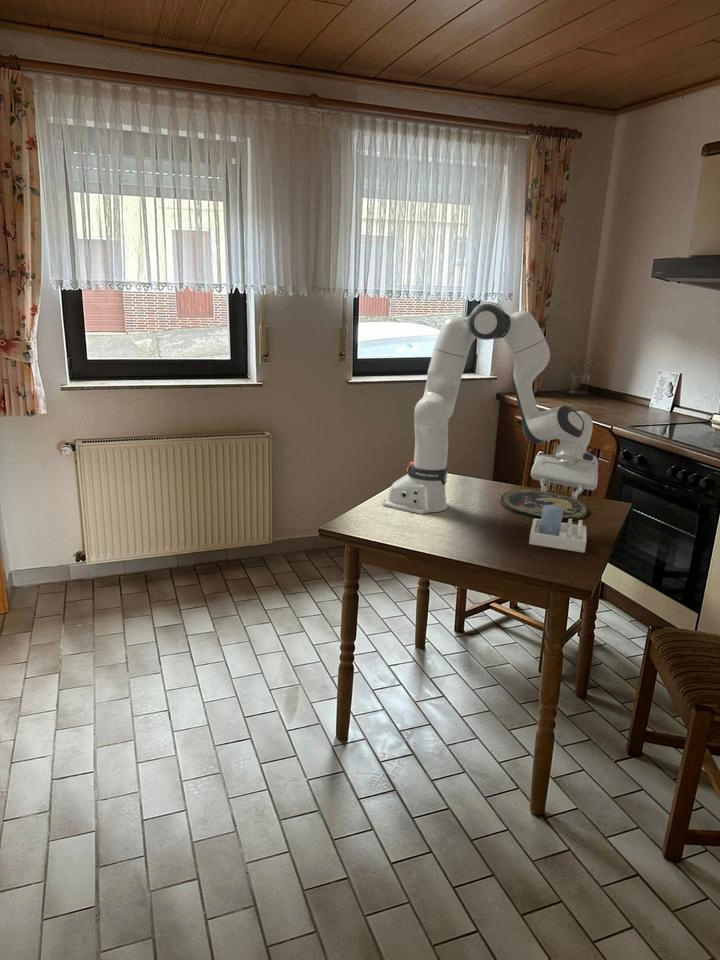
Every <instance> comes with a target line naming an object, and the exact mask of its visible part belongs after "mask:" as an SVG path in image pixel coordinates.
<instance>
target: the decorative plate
mask: <svg viewBox="0 0 720 960" xmlns="http://www.w3.org/2000/svg"><path fill="white" fill-rule="evenodd" d="M499 503H500V505H501V507H503V508H504V509H505V510H507V511H509V512H511V513H513V514H514V515H518V516H521V515H522V516H521V517H524V516H525V518H528V517H529V518H528V519H533V518H534V519H541V516H542V509H543V506H544V505H555V506H559V507H561V508H563V514H562V521H564V522H568V519H573V520H574V521H576V520H575V519H579V518H582V517H584V516H585V515H586V514H587V515H588V513H589V512H588V507H587V506H586V505H585V504H584V503H583V502H581V501H580V500H578V499H572V498H571V496H568V495H564V494H561V493H557V492H551V491H546V493H541V490H531V489H527V490H526V489H523V490H522V489H519V490H513V491H508V492H505V493H504V494H502V495H501V496H500V499H499ZM587 515H586V516H587ZM584 518H585V517H584ZM582 519H583V518H582ZM579 520H580V519H579Z"/></svg>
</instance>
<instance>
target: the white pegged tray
mask: <svg viewBox="0 0 720 960" xmlns="http://www.w3.org/2000/svg"><path fill="white" fill-rule="evenodd" d="M532 519H533V518H532ZM572 520H573V519H568V521H567V522H561V528H560V535H559V536H554V535H548V534H541V533H539V531H540V523H541V519H533V520H532V525H531V529H530V533H529V539H528V540H529V541H528V544H529V545H533V546H540V547H544V548H545V547H546V548H554V549H559V550H563V551H564V550H567V551H572V552H578V553H586V552H585V551H586V546H587V525H583V519H579V520H577V521H578V523H577V524H573V521H572Z"/></svg>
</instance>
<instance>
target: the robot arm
mask: <svg viewBox="0 0 720 960" xmlns="http://www.w3.org/2000/svg"><path fill="white" fill-rule="evenodd" d="M476 339H479V340H485V341H489V340H496V339H503V340H504V342H505V343H506V345H507V347H508V349H509V351H510V354H511V356H512V361H513V371H512V372H511V379H512V380H511V381H512V387H513V390H514V391H513V392H514V394H515V398H516V401H517V406H518V409H519V413H520V418H521V425H522V432H523V435H524V436H525V437H526V439H527V440H528V441H529V442H531V443H532V444H536V445H538V444H542V443H545V442H548V441H552V440H555V439H558V440H559V444H558V447H557V450H556V452H555V455H554V454H546V453H539V454H537V455H535V458H534V461H533V463H534V464H533V465H532V467H531V471H530V476H531V478H532V479H533V480H536V481H539V482H540V486H541V487H540V491H541V493H546V492H548V491H547V490H548V487H547V485H545V484H546V483H549V484H550V483H551V484H557V485H561V486H567V487H570V488H571V487H572V488H576V490H575V491H572V493H571V496H570V497H571V498H572V499H576V500H578V496H579V495H580V494H581V493H582V492H584V490H588V491H594V490H596V489H597V487H598V480H599V479H598V478H599V470H598V469H599V468H598V467H599V462H598V461H599V460H598V457H597V456H595V455H594V454H591V453H590V452H587V447H588V446H589V444H590V442H591V439H592V435H593V434H592V433H593V427H594V423H593V419H592V417H591V415H589V414H588V413H586V412H584V411H580V410H579V411H578V410H577V411H576V410H575V409H574V408H572V407H571V406H568V405H559V406H555V407H552V408H549V409H545V410H542V411H540V410H539V409H538V406H537V402H536V398H535V394H534V391H533V384H534V383H533V382H534V380H535V379H536V378H537V376H539V374H541V373H542V372H543V371H544V370H545V368H547V365H548V364H549V362H550V358H551V351H550V348H549V345H548V342H547V340H546V338H545V336H544V333H543V331H542V329H541V327H540V325H539V324H538V322H537V321H536V319H535V317H534V316H533V314H532V313H530V312H529V311H526V310H519V311H515V312H513V313H506V312H505V310H504V309H503V307H502V306H501V305H500V304H498V303H496V302H495V301H494V302H493V301H484V302H481V303H479V304H477V305H476V306H475V307H474V308H473V309H472V311H471V312H470V313H469V314H468V315H467V317H461V316H451V317H448V318H447V319H445V321H444V322H443V324H442V326H441V328H440V330H439V333H438V335H437V337H436V341H435V344H434V347H433V351H432V355H431V358H430V361H429V365H428V369H427V375H426V382H425V388H424V393H423V396H422V397H421V398H420V399H419V400H418V401H417V403H416V404H415V406H414V413H413V415H414V417H413V419H414V421H413V422H414V427H413V428H414V455H413V461H411V462H409V464H408V466H407V468H406V474H405V475H403V476H402V477H399V478H398V479H397V480H395V481H394V482H393V483H392V484H391V486H390V489H389V492H388V493H387V494H385V495H384V496H383V497H382V499H381V504H382V505H383V506H385V507H389V508H393V509H398V510H402V511H406V512H412V513H416V514H420V515H423V514H428V513H429V514H430V513H438V512H443V511H446V510H447V509H448V503H447V497H446V496H447V495H446V483H447V481H448V467H447V465H448V464H447V463H448V462H447V461H448V454H449V453H448V452H449V451H448V450H449V434H448V432H449V421H450V418H451V417H452V415H453V414H454V411H455V410H454V409H455V406H456V402H457V399H458V395H459V394H458V393H459V391H460V384H461V381H462V376H463V374H464V370H465V366H466V363H467V360H468V357H469V353H470V350H471V347H472V344H473V342H474V341H475V340H476Z"/></svg>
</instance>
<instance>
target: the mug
mask: <svg viewBox="0 0 720 960" xmlns="http://www.w3.org/2000/svg"><path fill="white" fill-rule="evenodd" d="M562 514H563V508H561V507H559V506H555V505H544V506H543V509H542V516H541V523H540V531H539V533H541V534H548V535H554V536H559V535H560V528H561V521H562Z"/></svg>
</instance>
